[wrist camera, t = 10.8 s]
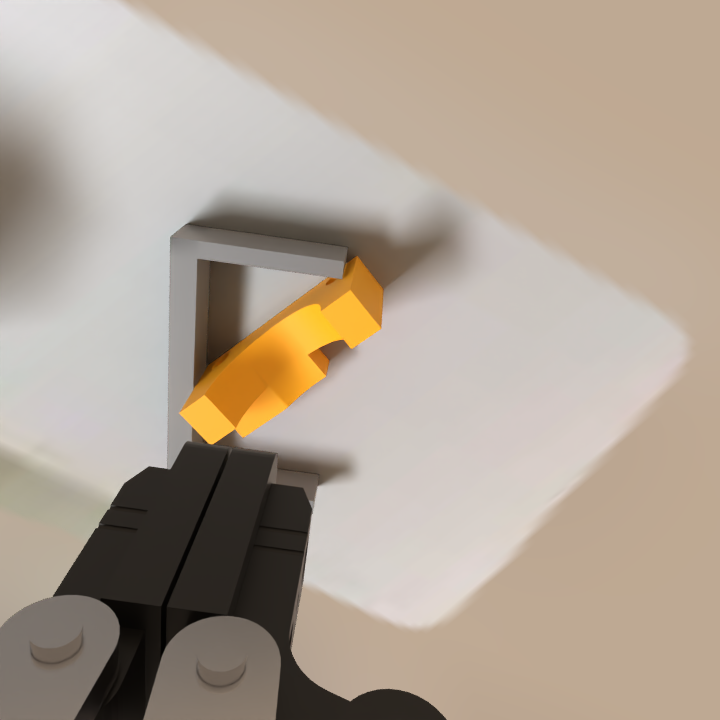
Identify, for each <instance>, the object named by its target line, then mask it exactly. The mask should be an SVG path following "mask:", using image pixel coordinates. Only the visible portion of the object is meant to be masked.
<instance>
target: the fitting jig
mask: <svg viewBox="0 0 720 720" xmlns="http://www.w3.org/2000/svg"><path fill="white" fill-rule="evenodd" d="M347 251H348V247H343V246H336V245H329V244H322V243H315V242H308V241H301V240H294V239H287V238H280V237H273V236H266V235H259V234H252V233H245V232H238V231H231V230H224V229H217V228H210V227H203V226H196V225H189V224H186V225H184V226H183V227H182V228H181V229H179V230H178V231H177V232H176V233H174V234H173V235H172V236H171V237H170V293H169V367H168V442H167V469H171V467H172V466H173V464H174V462H175V460H176V458H177V456H178V455H179V453H180V451H181V449H182V447H183V445H184V444H185V443H186V442H187V441H192V442H199V443H203V437H202V436H201V435H200V434H199V433H198V432H197V431H196V430H195V429H194V428H193V427H192V426H191V425H190V424H189V423H188V422H187V421H186V420H185V419H184V418H183V417H182V416H181V415H180V414H179V413H180V411H181V409H182V408H183V406H184V404H185V403H186V401H187V399H188V398H189V396H190V394H191V393H192V391H193V389H194V388H195V386H196V385H197V383H198V381H199V380H200V378H201V376H202V375H203V373H204V371H205V370H206V359H207V333H208V308H209V283H210V260H211V261H218V262H225V263H232V264H239V265H246V266H253V267H260V268H267V269H274V270H281V271H288V272H295V273H302V274H309V275H316V276H323V277H330V278H337V279H342V277H343V273H344V269H345V265H346V258H347ZM318 478H319V475H318V474H311V473H303V472H296V471H289V470H282V469H277V475H276V484H280V485H288V486H295V487H302V488H304V491H305V493H306V495H307V498H308V500H309V502H310V505H311V507H312V514H313V508H314V503H315V497H316V492H317V486H318Z"/></svg>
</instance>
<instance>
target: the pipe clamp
mask: <svg viewBox="0 0 720 720" xmlns="http://www.w3.org/2000/svg"><path fill="white" fill-rule="evenodd" d="M382 306H383V288H382V287H381V286H380V285H379V283H378V282H377V281H376V279H375V278H374V277H373V276H372V274H371V273H370V272H369V270H368V269H367V268H366V267H365V265H364V264H363V263H362V261H361V260H360V259H359V258H358V256H356V257H355V258H353V259H352V260H351V261H349V262H348V263H347V264H346V265H345V269H344V273H343V277H342V279H337V278H330V277H328V278H326V279H325V280H323V281H322V282H321V283H319V284H318V285H317V286H315V287H314V288H313V289H311V290H310V291H308V292H307V293H306V294H304V295H303V296H302V297H300V298H299V299H298V300H296V301H295V302H294V303H292V304H291V305H289V306H288V307H287V308H285V309H284V310H283V311H281V312H280V313H279V314H277V315H276V316H275V317H273V318H272V319H270V320H269V321H268V322H266V323H265V324H264V325H262V326H261V327H260V328H258V329H257V330H255V331H254V332H253V333H251V334H250V335H249V336H247V337H246V338H245V339H243V340H242V341H241V342H239V343H238V344H236V345H235V346H234V347H232V348H231V349H230V350H228V351H227V352H226V353H224V354H223V355H221V356H220V357H219V358H217V359H216V360H215V361H213V362H212V363H211V364H209V365H208V366H207V368H206V370H205V371H204V373H203V375H202V376H201V378H200V380H199V381H198V383H197V385H196V386H195V388H194V389H193V391H192V393H191V394H190V396H189V398H188V399H187V401H186V403H185V404H184V406H183V408H182V409H181V411H180V413H179V414H180V415H181V416H182V417H183V418H184V419H185V420H186V421H187V422H188V423H189V424H190V425H191V426H192V427H193V428H194V429H195V430H196V431H197V432H198V433H199V434H200V435H201V436H202V437H203V438H204V439H205V440H206V441H207V442H208V443H209V444H214V443H215V442H217V441H218V440H220V439H221V438H223V437H224V436H226V435H227V434H229V433H230V432H231V431H233V430H234V429H235V430H236V431H237V432H238V433H239V434H240V435H241V436H242V437H243V438H244V437H245V436H246V435H248V434H249V433H251V432H252V431H254V430H255V429H257V428H258V427H260V426H261V425H263V424H264V423H266V422H267V421H269V420H270V419H272V418H273V417H274V416H276V415H277V414H279V413H280V412H282V411H283V410H285V409H286V408H287V407H288V406H289V405H291V404H292V403H293V402H294V401H295V400H296V399H297V398H298V397H299V396H300V395H302V394H303V393H304V392H305V391H306V390H308V389H309V388H310V387H311V386H313V385H314V384H316V383H317V382H318V381H320V380H321V379H323V378H324V377H326V374H327V370H328V365H329V360H328V359H327V357H326V356H325V355H324V354H323V353H322V352H321V350H320V349H319V348H320V347H322V346H324V345H326V344H328V343H331V342H333V341H337V340H344V341H345V342H346V343H347V344H348V346H349V347H350V348H351V349H352V348H354V347H355V346H357V345H358V344H360V343H361V342H362V341H364V340H365V339H367V338H368V337H370V336H371V335H373V334H374V333H376V332H377V331H378V330H380V329H381V324H382Z"/></svg>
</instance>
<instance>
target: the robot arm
mask: <svg viewBox="0 0 720 720" xmlns="http://www.w3.org/2000/svg"><path fill="white" fill-rule="evenodd" d="M277 464H278V454H277V453H272V452H265V451H257V450H250V449H243V448H236V447H234V448H233V449H232V448H231V447H228V446H220V445H213V444H206V443H199V442H192V441H187V442H186V443H185V444H184V445H183V447H182V449H181V451H180V453H179V455H178V456H177V458H176V460H175V462H174V464H173V466H172V467H171V469H164V468H157V467H150V466H149V467H148V468H146V469H145V470H143V471H142V472H140V473H139V474H137V475H136V476H134V477H133V478H131V479H130V480H129V481H127V482H126V483H124V485H123V486H122V488H121V490H120V491H119V493H118V494H117V496H116V497H115V499H114V501H113V502H112V504H111V507H110V510H107V512H106V513H105V515H104V516H103V518H102V520H101V521H100V523H99V527H98V528H96V529H95V531H94V532H93V534H92V535H91V537H90V538H89V540H88V542H87V543H86V545H85V546H84V548H83V550H82V551H81V553H80V554H79V556H78V558H77V559H76V561H75V562H74V564H73V565H72V567H71V568H70V570H69V572H68V573H67V575H66V576H65V578H64V580H63V581H62V583H61V584H60V586H59V587H58V589H57V591H56V592H55V594H54V595H53V597H51V598H47V599H43V600H41V601H38V602H35V603H33V604H31V605H29V606H27V607H25V608H23V609H22V610H20V611H18V612H17V613H16V614H14V615H13V616H12V617H10V618H9V619H8V620H7V621H6V622H5V623H4V624H3V625H2V627H1V628H0V720H446V718H445V717H444V716H443V715H442V714H441V713H440V712H439V711H438V710H437V709H436V708H435V707H434V706H432V705H431V704H430V703H429V702H427V701H425V700H424V699H422V698H420V697H418V696H416V695H414V694H411V693H409V692H405V691H401V690H393V689H380V690H374V691H370V692H367V693H365V694H362V695H360V696H358V697H356V698H355V699H353V700H352V701H351V702H350V701H348V700H346V699H344V698H342V697H340V696H337V695H335V694H333V693H331V692H329V691H327V690H325V689H323V688H322V687H320V686H318V685H317V684H315V683H314V682H313V681H311V680H310V679H309V678H308V677H307V676H306V675H305V674H304V673H303V672H302V671H301V669H300V668H299V666H298V665H297V664H296V661H295V659H294V657H293V655H292V652H291V647H292V642H293V636H294V630H295V625H296V619H297V613H298V607H299V602H300V597H301V591H302V585H303V579H304V571H305V563H306V555H307V547H308V540H309V532H310V524H311V516H312V507H311V505H310V502H309V500H308V498H307V495H306V493H305V491H304V488H302V487H295V486H288V485H280V484H276V475H277Z"/></svg>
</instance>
